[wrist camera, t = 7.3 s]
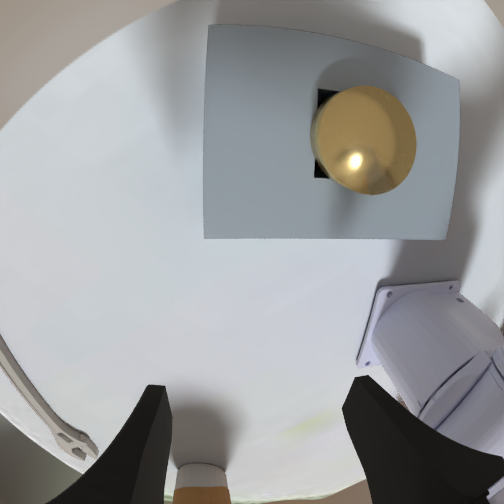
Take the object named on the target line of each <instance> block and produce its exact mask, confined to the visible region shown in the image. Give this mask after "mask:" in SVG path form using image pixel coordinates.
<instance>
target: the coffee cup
mask: <svg viewBox="0 0 504 504" xmlns="http://www.w3.org/2000/svg"><path fill="white" fill-rule="evenodd" d="M173 504H231V500H230V494H229V490H228V485H227V479H226V474H225V473H224V471H223V470H222V469H221V468H219V467H217V466H214V465H210V464H202V463H194V464H186V465H184V466H182V467H180V470H179V471H178V472H177V478H176V485H175V490H174V496H173Z"/></svg>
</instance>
